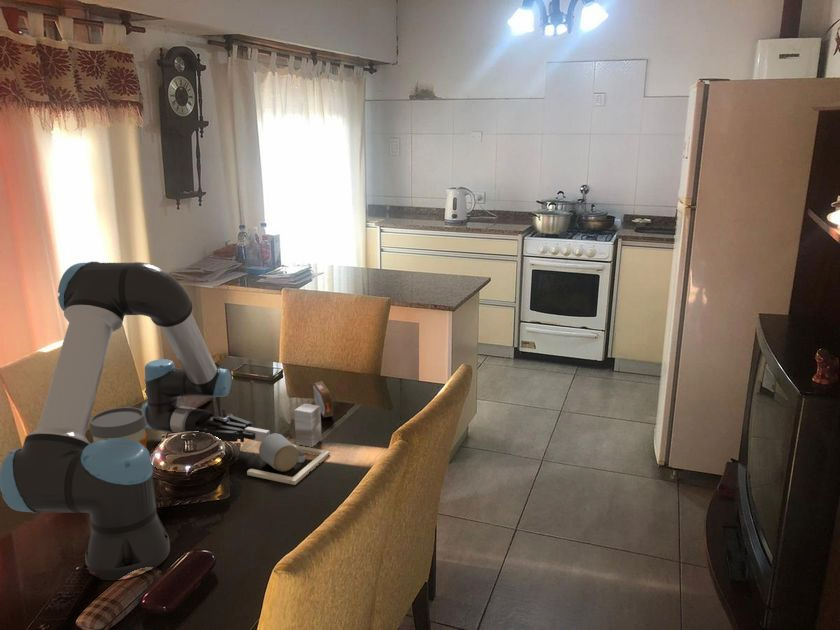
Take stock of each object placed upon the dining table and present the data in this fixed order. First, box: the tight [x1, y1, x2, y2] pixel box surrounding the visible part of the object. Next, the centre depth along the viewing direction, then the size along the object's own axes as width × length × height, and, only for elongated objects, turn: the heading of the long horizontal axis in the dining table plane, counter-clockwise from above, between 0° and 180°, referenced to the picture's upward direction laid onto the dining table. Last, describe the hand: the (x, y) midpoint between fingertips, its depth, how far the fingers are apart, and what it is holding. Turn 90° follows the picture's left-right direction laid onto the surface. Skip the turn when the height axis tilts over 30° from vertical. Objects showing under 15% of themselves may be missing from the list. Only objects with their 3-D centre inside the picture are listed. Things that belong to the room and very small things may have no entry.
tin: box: [312, 380, 334, 418], centre depth 201 cm, size 15×3×8 cm, turn 22°
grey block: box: [293, 403, 323, 448], centre depth 180 cm, size 5×5×10 cm
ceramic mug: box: [258, 432, 307, 473], centre depth 168 cm, size 11×8×8 cm
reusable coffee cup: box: [89, 406, 148, 448], centre depth 163 cm, size 13×13×15 cm
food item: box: [177, 397, 213, 409], centre depth 204 cm, size 14×8×10 cm, turn 161°
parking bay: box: [246, 444, 331, 486], centre depth 169 cm, size 17×14×1 cm
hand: (268, 436), depth 170 cm, fingers closed
